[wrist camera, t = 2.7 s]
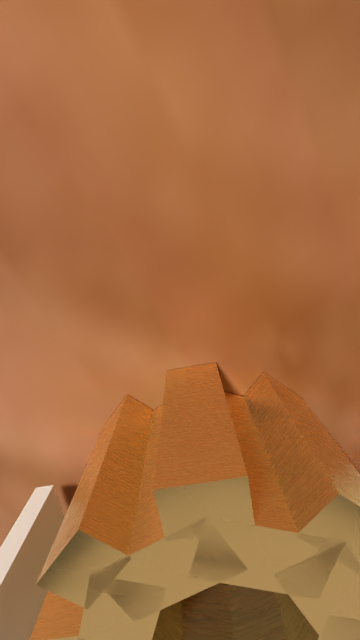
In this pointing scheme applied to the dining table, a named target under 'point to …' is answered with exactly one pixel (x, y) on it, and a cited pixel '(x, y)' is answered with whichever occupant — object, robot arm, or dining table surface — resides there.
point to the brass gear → (209, 523)
